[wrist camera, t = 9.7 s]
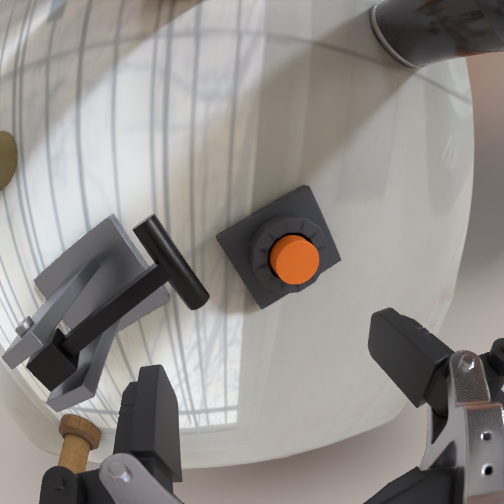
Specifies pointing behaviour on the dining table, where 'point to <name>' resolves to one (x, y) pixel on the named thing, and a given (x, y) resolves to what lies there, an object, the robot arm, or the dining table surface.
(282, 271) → the button
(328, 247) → the control block
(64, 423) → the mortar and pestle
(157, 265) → the black t-handle
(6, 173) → the cork
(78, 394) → the lever stand
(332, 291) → the dining table surface
